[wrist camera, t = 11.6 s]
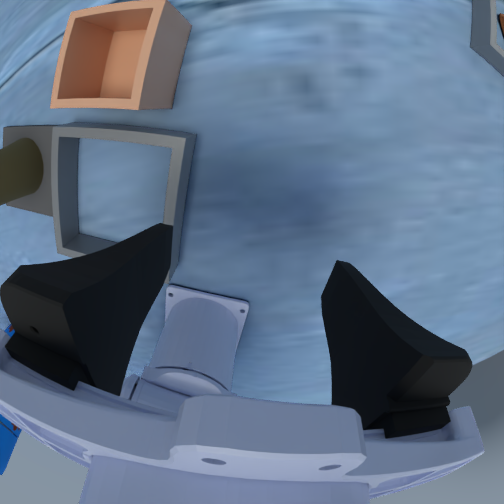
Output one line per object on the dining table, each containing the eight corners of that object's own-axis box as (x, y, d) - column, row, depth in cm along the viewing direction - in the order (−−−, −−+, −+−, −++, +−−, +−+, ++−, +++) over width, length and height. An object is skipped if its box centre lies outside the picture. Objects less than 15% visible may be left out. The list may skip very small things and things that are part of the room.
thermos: (66, 370, 36) (15, 483, 15) (26, 353, 36) (-26, 449, 14) (44, 327, 31) (-29, 456, 9) (4, 310, 31) (-65, 415, 9)
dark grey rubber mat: (59, 215, 22) (56, 217, 22) (9, 203, 22) (6, 205, 21) (60, 125, 18) (56, 126, 18) (7, 126, 17) (3, 127, 17)
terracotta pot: (171, 108, 18) (138, 109, 13) (96, 103, 17) (50, 108, 12) (192, 25, 15) (166, -1, 9) (112, 27, 14) (71, 12, 9)
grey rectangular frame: (177, 264, 24) (168, 283, 22) (73, 238, 24) (57, 253, 21) (196, 134, 19) (185, 138, 16) (73, 122, 18) (52, 126, 15)
